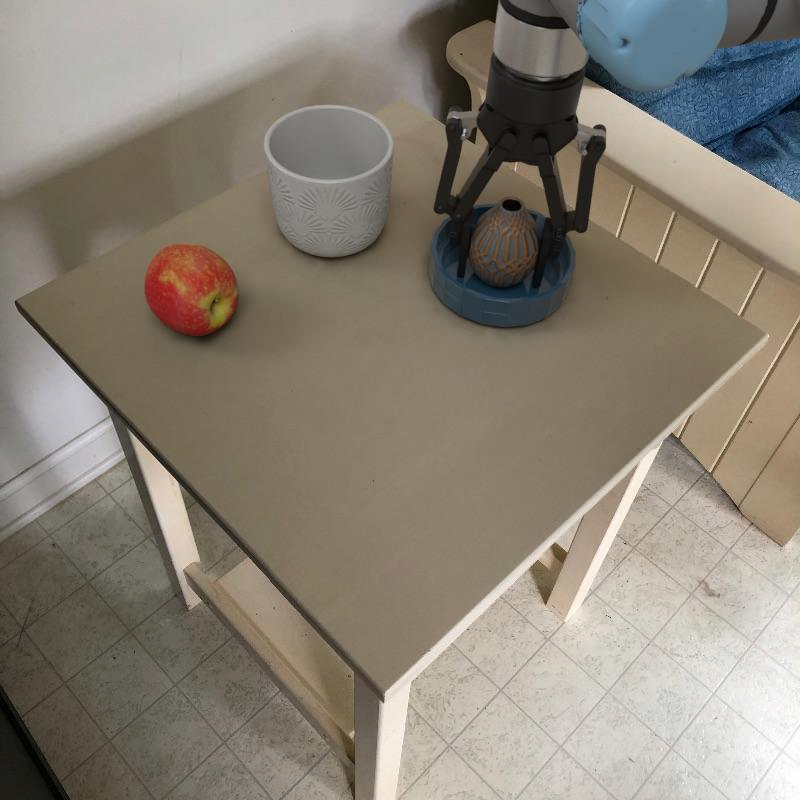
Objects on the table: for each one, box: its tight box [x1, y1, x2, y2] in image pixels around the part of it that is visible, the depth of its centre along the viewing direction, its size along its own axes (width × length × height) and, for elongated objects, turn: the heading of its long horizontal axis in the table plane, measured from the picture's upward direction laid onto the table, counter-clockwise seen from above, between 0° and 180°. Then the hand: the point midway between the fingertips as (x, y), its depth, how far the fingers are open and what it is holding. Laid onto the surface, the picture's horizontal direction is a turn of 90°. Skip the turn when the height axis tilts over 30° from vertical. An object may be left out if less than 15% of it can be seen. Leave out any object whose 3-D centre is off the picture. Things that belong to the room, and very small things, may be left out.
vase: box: [468, 196, 540, 288], centre depth 79 cm, size 7×7×9 cm
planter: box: [263, 104, 395, 258], centre depth 83 cm, size 12×12×11 cm
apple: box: [143, 242, 239, 337], centre depth 76 cm, size 8×8×8 cm
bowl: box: [428, 202, 577, 328], centre depth 82 cm, size 14×14×4 cm
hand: (499, 271), depth 83 cm, fingers closed on vase, 7 cm apart
